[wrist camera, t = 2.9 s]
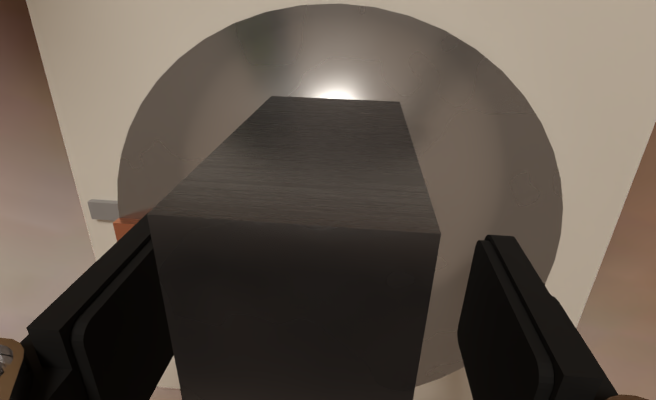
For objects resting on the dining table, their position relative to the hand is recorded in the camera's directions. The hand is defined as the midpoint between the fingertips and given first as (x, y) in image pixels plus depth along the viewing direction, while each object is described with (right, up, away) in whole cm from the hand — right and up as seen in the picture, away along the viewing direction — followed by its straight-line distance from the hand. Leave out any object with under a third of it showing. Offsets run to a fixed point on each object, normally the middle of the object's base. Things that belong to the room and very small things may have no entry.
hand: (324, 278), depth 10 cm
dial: (0, +1, +2) cm, 3 cm away
